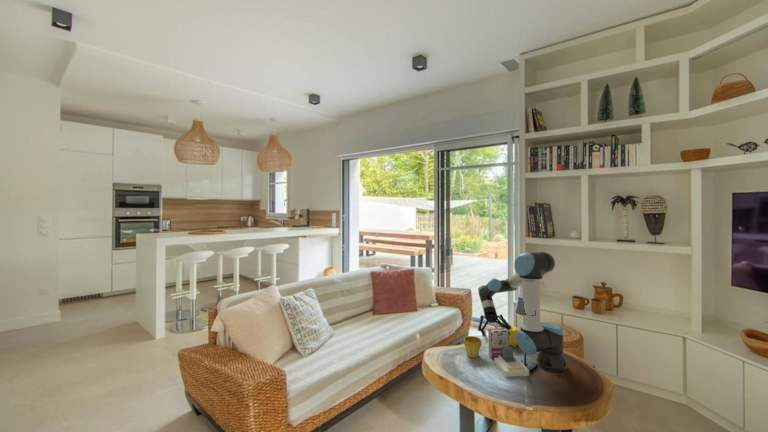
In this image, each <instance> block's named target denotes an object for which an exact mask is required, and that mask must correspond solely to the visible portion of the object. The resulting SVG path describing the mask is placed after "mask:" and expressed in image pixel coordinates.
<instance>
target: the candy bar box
mask: <svg viewBox="0 0 768 432" xmlns="http://www.w3.org/2000/svg"><path fill="white" fill-rule="evenodd" d="M487 331H488V335H487V336H488V356H489V357H490V358H491V359H492V360H495V358H498V356H499V355H500V356H501V357H503V347H510V345H509V330H507V329H506V328H502V327H499V328H498V329H495V328H488V329H487Z"/></svg>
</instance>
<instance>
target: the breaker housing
mask: <svg viewBox="0 0 768 432" xmlns="http://www.w3.org/2000/svg"><path fill="white" fill-rule="evenodd" d="M513 358H514V359H515V361H509V362H505V360H504V359H503V358H502V357H501V356H500V355H499V356H498V358H495V359H494V364H495V365H496V367H497V368H498V369H499V371H500V372H501V374H502V375H503V377H505V378H506V377H508V378H510V377H527V376H528V377H529V376H530V370H529V368H528V367H527V366H526V365H525V364H524V363H523V362H522V361H521V360H520V359H519V358H518V357H517V356H515V355H514V354H513Z"/></svg>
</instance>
